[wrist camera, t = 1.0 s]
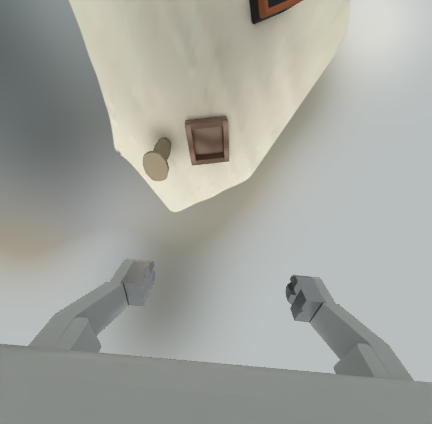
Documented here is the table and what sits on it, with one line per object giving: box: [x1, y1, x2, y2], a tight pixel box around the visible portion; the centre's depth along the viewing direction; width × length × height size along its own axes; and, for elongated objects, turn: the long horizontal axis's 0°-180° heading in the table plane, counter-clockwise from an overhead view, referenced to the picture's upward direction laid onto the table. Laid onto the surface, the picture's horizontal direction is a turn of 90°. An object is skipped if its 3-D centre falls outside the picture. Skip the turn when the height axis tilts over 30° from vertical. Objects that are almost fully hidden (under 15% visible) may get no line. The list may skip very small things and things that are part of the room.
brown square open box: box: [185, 116, 229, 165], centre depth 47 cm, size 10×10×4 cm
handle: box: [143, 138, 171, 181], centre depth 42 cm, size 5×6×15 cm
